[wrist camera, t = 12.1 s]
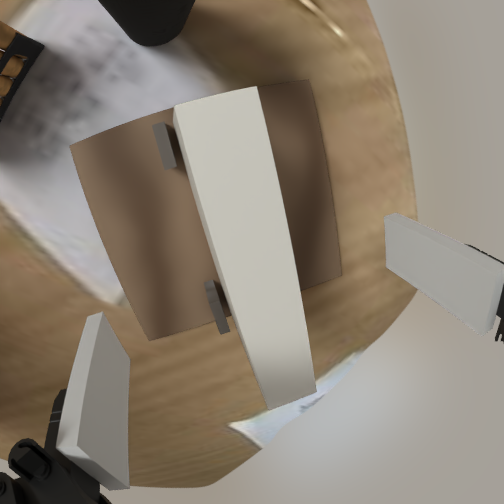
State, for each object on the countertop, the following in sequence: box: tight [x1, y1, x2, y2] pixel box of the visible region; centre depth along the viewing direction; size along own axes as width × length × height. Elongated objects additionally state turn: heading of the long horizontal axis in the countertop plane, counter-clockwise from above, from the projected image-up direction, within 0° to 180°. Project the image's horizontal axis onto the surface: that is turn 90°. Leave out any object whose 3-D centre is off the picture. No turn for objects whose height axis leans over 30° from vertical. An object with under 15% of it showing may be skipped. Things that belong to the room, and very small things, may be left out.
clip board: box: [70, 79, 342, 341], centre depth 23 cm, size 19×18×5 cm
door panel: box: [173, 86, 317, 410], centre depth 18 cm, size 3×16×12 cm, turn 14°
